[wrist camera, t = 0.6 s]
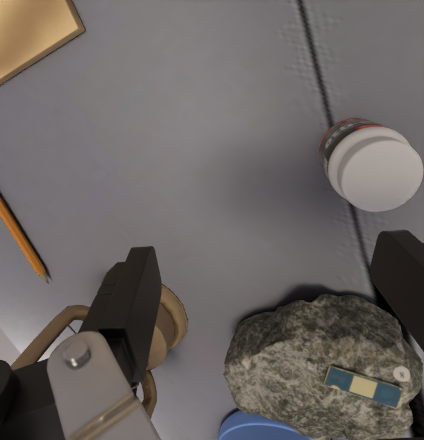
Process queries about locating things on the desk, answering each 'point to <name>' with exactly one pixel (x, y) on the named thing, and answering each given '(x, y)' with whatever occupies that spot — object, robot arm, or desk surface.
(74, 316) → the lantern
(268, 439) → the water jug
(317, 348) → the rock
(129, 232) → the desk surface
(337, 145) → the pill bottle
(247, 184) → the desk surface
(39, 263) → the pencil
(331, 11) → the desk surface
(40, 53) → the tan flat wooden board
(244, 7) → the desk surface
